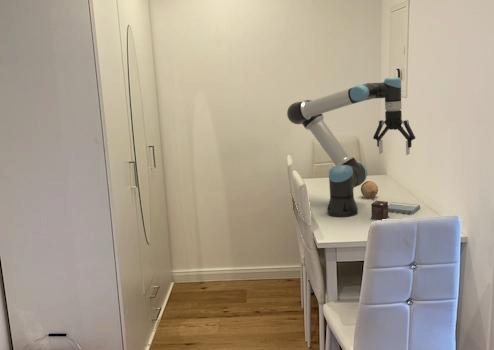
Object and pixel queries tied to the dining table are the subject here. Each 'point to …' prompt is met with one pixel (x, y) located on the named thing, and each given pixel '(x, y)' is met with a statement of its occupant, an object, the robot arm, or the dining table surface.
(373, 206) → the box
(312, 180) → the dining table surface
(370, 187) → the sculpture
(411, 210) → the ticket board
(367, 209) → the dining table surface
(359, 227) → the dining table surface
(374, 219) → the stub mat
